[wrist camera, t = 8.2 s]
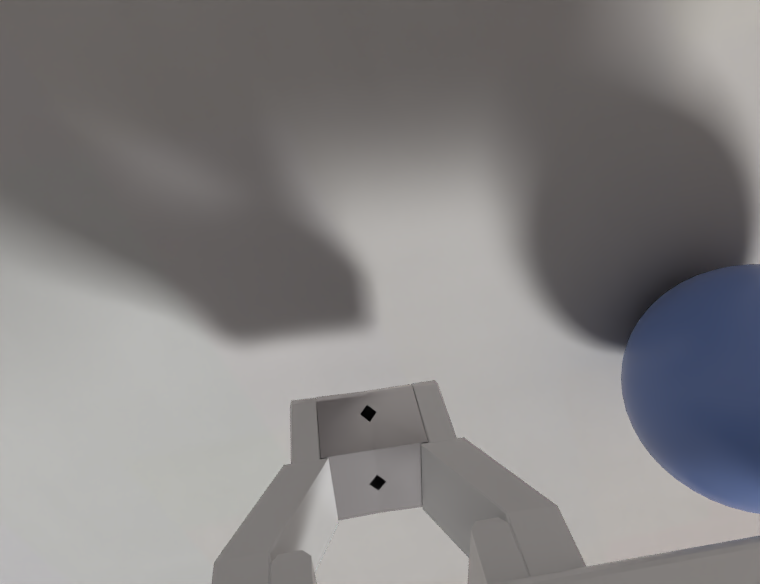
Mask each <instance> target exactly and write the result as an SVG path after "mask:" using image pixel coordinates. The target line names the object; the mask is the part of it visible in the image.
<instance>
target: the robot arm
mask: <svg viewBox="0 0 760 584" xmlns="http://www.w3.org/2000/svg"><path fill="white" fill-rule="evenodd" d="M290 431H291V464H287V465H283V467H282V468H281V470H280V471H279V472H278V474H277V475H276V477H275V478H274V479H273V481H272V482H271V484H270V485H269V486H268V488H267V489H266V491H265V492H264V493H263V495H262V496H261V498H260V499H259V500H258V502H257V503H256V505H255V506H254V507H253V509H252V510H251V512H250V513H249V514H248V516H247V517H246V519H245V520H244V521H243V523H242V524H241V526H240V527H239V528H238V530H237V531H236V533H235V534H234V535H233V537H232V538H231V540H230V541H229V542H228V544H227V545H226V547H225V548H224V549H223V551H222V552H221V554H220V555H219V556H218V558H217V559H216V561H215V562H214V568H213V576H212V584H317V581H316V576H315V573H316V570H317V568H318V566H319V564H320V562H321V560H322V558H323V556H324V553H325V551H326V549H327V547H328V545H329V543H330V541H331V539H332V536H333V534H334V532H335V530H336V528H337V526H338V524H339V522H338V520H344V519H349V518H354V517H359V516H364V515H370V514H375V513H380V512H387V511H395V510H402V509H410V508H417V507H423V510H424V511H425V512H426V513H427V514H428V515H429V516H430V517H431V518H432V519H433V520H434V521H435V522H436V524H437V525H438V526H439V527H440V528H441V529H442V530H443V531H444V532H445V533H446V534H447V535H448V536H449V537H450V538H451V539H452V541H453V542H454V543H455V544H456V545H457V546H458V547H459V548H460V549H461V550H462V551H463V552H464V553H465V554H466V555H467V556H468V558H469V569H468V584H760V536H755V537H750V538H744V539H738V540H733V541H727V542H722V543H716V544H710V545H705V546H699V547H694V548H688V549H682V550H677V551H671V552H666V553H660V554H654V555H649V556H643V557H638V558H632V559H626V560H621V561H615V562H610V563H604V564H598V565H593V566H587V567H586V565H585V563H584V560H583V558H582V556H581V554H580V552H579V550H578V548H577V546H576V544H575V542H574V539H573V537H572V535H571V533H570V531H569V529H568V527H567V525H566V523H565V521H564V519H563V516H562V514H561V512H560V510H559V508H558V506H557V505H555V504H554V503H553V502H551V501H550V500H549V499H547V498H546V497H545V496H543V495H542V494H540V493H539V492H538V491H536V490H535V489H534V488H532V487H531V486H529V485H528V484H527V483H525V482H524V481H523V480H521V479H520V478H519V477H517V476H516V475H514V474H513V473H512V472H510V471H509V470H508V469H506V468H505V467H504V466H502V465H501V464H499V463H498V462H497V461H495V460H494V459H493V458H491V457H490V456H489V455H487V454H486V453H484V452H483V451H482V450H480V449H479V448H478V447H476V446H475V445H473V444H472V443H471V442H469V441H468V440H467V439H465V438H457V437H456V435H455V432H454V429H453V426H452V423H451V420H450V417H449V415H448V412H447V409H446V406H445V403H444V400H443V397H442V394H441V392H440V389H439V386H438V383H437V382H436V381H435V380H432V381H426V382H420V383H413V384H411V385H410V384H408V385H402V386H395V387H389V388H382V389H375V390H369V391H364V392H355V393H347V394H338V395H330V396H322V397H317V399H316V398H310V399H301V400H292V401H291V405H290Z"/></svg>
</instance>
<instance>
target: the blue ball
mask: <svg viewBox="0 0 760 584" xmlns="http://www.w3.org/2000/svg"><path fill="white" fill-rule="evenodd" d="M621 383H622V394H623V399H624V404H625V408H626V411H627V414H628V416H629V419H630V421H631V424H632V426H633V428H634V430H635V432H636V434H637V436H638V437H639V439H640V441H641V442H642V444H643V445H644V447H645V448H646V449H647V451H648V452H649V453H650V455H651V456H652V457H653V458H654V459H655V460H656V461H657V462H658V463H659V464H660V465H661V466H662V467H663V468H664V469H665V470H666V471H667V472H668V473H670V474H671V475H672V476H673V477H674V478H676V479H677V480H678V481H680V482H681V483H683V484H684V485H686V486H687V487H689V488H690V489H692V490H693V491H695V492H697V493H699V494H701V495H703V496H705V497H707V498H708V499H710V500H713V501H715V502H718V503H721V504H723V505H726V506H728V507H732V508H736V509H739V510H743V511H747V512H752V513H758V514H760V264H749V265H737V266H730V267H725V268H720V269H715V270H712V271H709V272H706V273H703V274H700V275H696V276H694V277H692V278H690V279H688V280H686V281H684V282H682V283H680V284H678V285H677V286H675V287H673V288H672V289H670V290H669V291H667V292H666V293H665V294H663V295H662V296H661V297H660V298H659V299H658V300H656V301H655V302H654V303H653V304H652V305H651V306H650V307H649V308H648V309H647V311H646V312H645V313H644V314H643V316H642V317H641V318H640V320H639V321H638V323H637V324H636V326H635V328H634V329H633V331H632V333H631V335H630V338H629V340H628V343H627V346H626V349H625V353H624V356H623V362H622V372H621Z"/></svg>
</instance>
